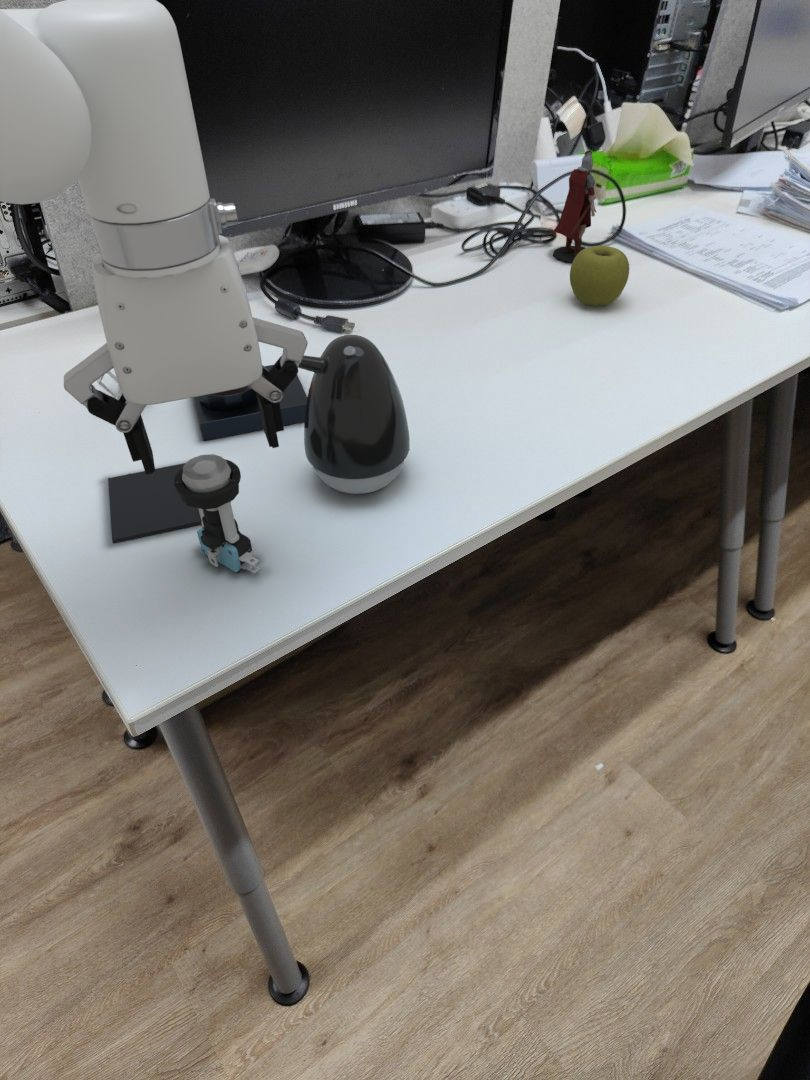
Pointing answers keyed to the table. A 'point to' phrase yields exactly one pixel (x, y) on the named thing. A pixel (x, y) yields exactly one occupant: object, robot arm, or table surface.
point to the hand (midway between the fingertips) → (211, 451)
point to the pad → (148, 504)
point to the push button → (216, 509)
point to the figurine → (577, 210)
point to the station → (245, 410)
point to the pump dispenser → (354, 417)
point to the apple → (599, 275)
